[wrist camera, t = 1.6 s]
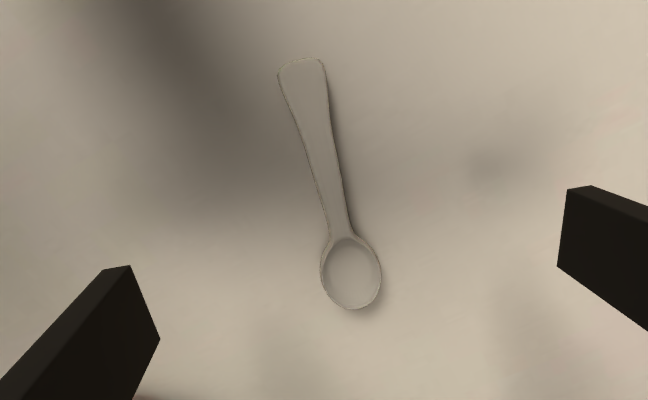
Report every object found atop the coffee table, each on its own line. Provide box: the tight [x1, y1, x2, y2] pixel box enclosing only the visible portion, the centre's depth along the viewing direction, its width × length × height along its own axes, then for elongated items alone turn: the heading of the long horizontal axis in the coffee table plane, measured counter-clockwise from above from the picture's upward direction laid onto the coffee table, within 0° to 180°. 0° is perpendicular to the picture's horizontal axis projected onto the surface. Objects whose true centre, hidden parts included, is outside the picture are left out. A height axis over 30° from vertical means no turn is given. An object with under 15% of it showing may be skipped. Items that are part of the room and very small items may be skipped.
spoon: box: [277, 58, 381, 310], centre depth 15 cm, size 3×12×2 cm, turn 13°
